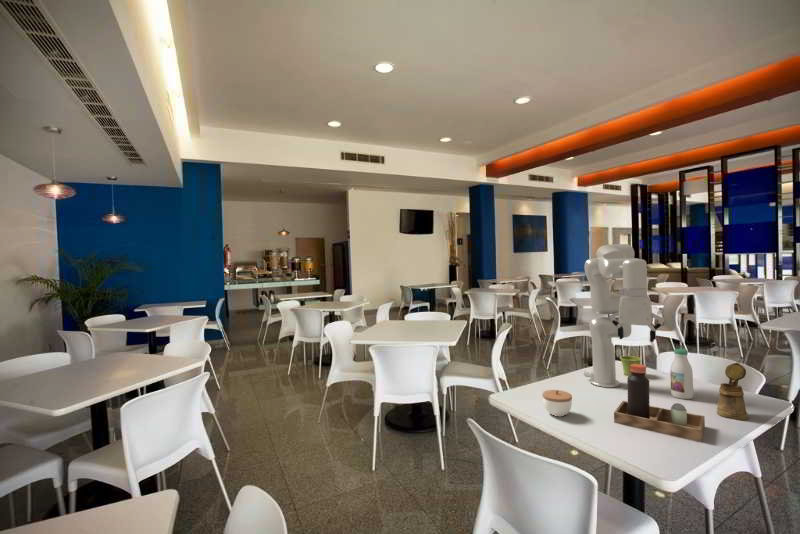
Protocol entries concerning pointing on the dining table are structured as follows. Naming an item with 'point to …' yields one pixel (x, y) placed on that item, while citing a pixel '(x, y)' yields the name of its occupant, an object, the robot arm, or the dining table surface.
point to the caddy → (662, 422)
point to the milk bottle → (681, 375)
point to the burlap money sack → (732, 394)
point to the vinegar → (638, 392)
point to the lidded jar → (557, 402)
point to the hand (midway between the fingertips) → (636, 339)
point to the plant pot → (629, 363)
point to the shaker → (678, 414)
